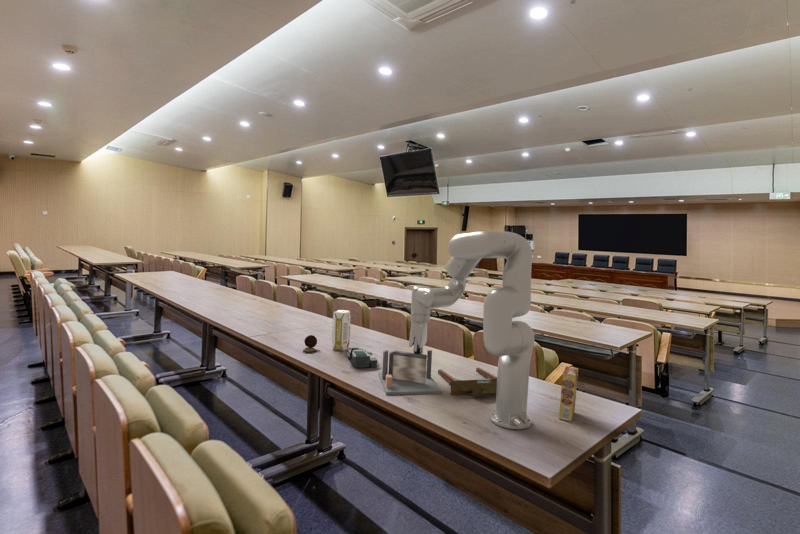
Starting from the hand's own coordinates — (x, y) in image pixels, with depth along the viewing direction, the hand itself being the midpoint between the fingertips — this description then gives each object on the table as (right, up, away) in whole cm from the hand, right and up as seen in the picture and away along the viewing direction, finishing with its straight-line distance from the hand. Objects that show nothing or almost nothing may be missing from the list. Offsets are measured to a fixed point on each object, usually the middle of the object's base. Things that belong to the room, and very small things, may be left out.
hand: (417, 363), depth 159 cm
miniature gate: (+22, -9, 0) cm, 24 cm away
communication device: (-25, -5, +26) cm, 37 cm away
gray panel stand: (-4, -7, -2) cm, 8 cm away
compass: (-50, -3, +37) cm, 62 cm away
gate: (-4, -6, -2) cm, 8 cm away
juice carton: (-37, -3, +44) cm, 57 cm away
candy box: (+48, -11, -26) cm, 56 cm away
